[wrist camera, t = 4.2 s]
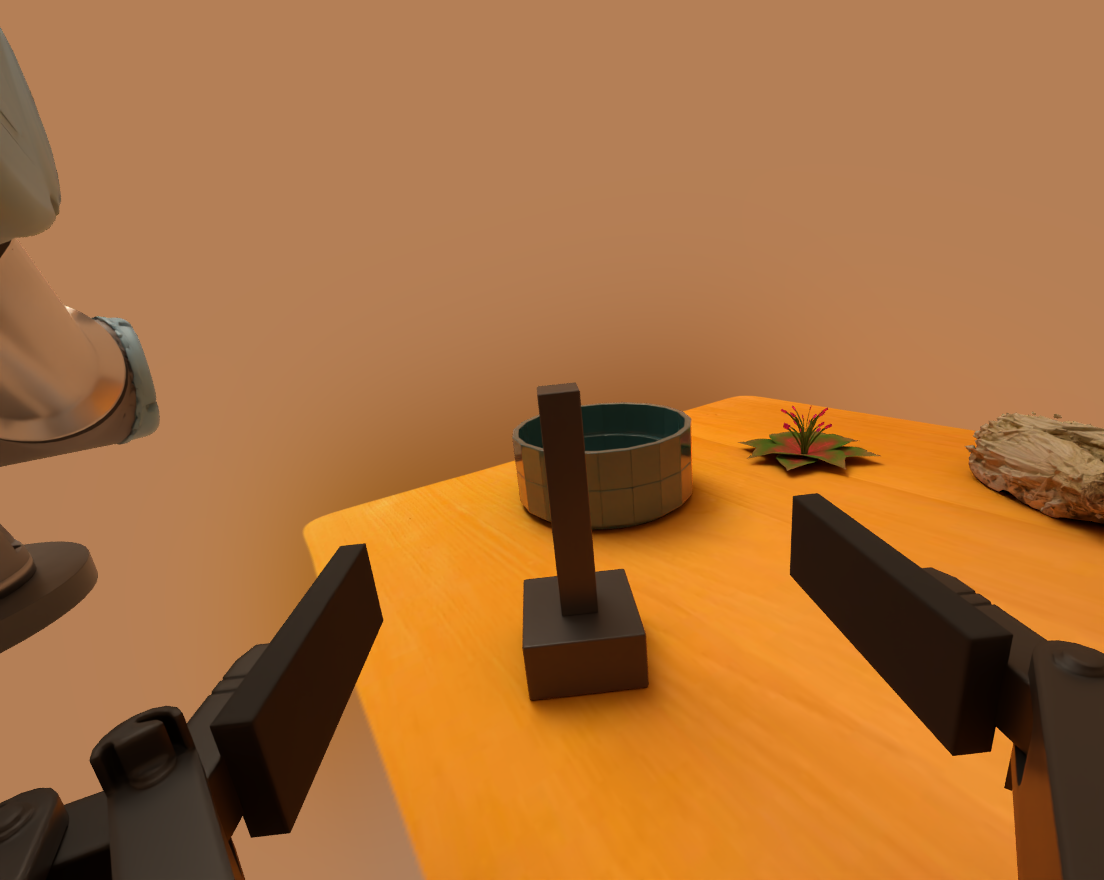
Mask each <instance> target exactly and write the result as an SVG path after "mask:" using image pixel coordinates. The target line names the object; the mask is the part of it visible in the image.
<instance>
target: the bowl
mask: <svg viewBox="0 0 1104 880" xmlns="http://www.w3.org/2000/svg"><path fill="white" fill-rule="evenodd" d="M581 412H582V423H583V435H584V447H585V459H586V470H587V482H588V494H589V505H590V517H591V529H615V528H623V527H630V526H635V525H639V524H643V523H647V522H650V521H653V520H655V519H658V518H660V517H662V516H665V515H667V514H668V513H670V512H671V511H673V510H674V509H676V508H678V507H680V506H681V505H683V504H684V502H685V501H686V500H687V499H688V498H689V497H690V496H691V494H692V434H691V418H690V417H689V416H688V415H686V414H685V413H684V412H683V411H680V410H676V409H674V408H671V407H667V406H661V405H654V404H647V403H627V402H626V403H625V402H623V403H599V404H590V405H581ZM513 446H514V454H515V462H516V469H517V477H518V485H519V493H520V501H521V503H522V504H523V505H524V506H525V508H526V509H527V510H528V511H529V512H530V513H532V514H534V515H536V516H538V517H540V518H542V519H544V520H546V521H549V522H551V515H550V505H549V496H548V487H547V478H546V469H545V460H544V451H543V442H542V433H541V424H540V415H537V416H535V417H533V418H530V419H528V420H526V421H524V422H522V423H521V424H520V425H518V426H517V427H516V428H515V429H514V430H513Z"/></svg>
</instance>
